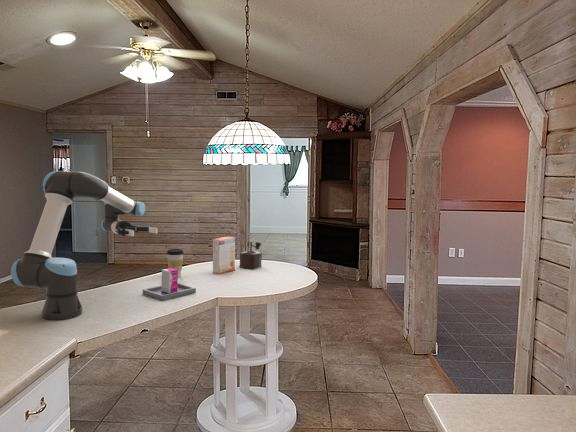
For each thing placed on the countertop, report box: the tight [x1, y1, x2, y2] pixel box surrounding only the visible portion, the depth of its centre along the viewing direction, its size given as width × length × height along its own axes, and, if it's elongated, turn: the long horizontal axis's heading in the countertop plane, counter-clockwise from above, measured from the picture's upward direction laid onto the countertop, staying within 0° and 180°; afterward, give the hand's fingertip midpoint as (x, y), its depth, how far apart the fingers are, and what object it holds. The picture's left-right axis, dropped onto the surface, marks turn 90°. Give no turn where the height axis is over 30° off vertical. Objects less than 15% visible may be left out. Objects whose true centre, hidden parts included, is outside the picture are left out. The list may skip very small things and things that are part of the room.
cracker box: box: [212, 235, 236, 275], centre depth 276 cm, size 14×6×21 cm, turn 144°
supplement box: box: [160, 268, 179, 294], centre depth 227 cm, size 6×6×12 cm
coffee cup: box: [165, 248, 185, 278], centre depth 263 cm, size 10×10×15 cm
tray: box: [142, 282, 197, 302], centre depth 227 cm, size 20×16×2 cm
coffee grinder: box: [239, 240, 263, 270], centre depth 290 cm, size 16×11×18 cm
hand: (145, 232), depth 228 cm, fingers open, 13 cm apart
